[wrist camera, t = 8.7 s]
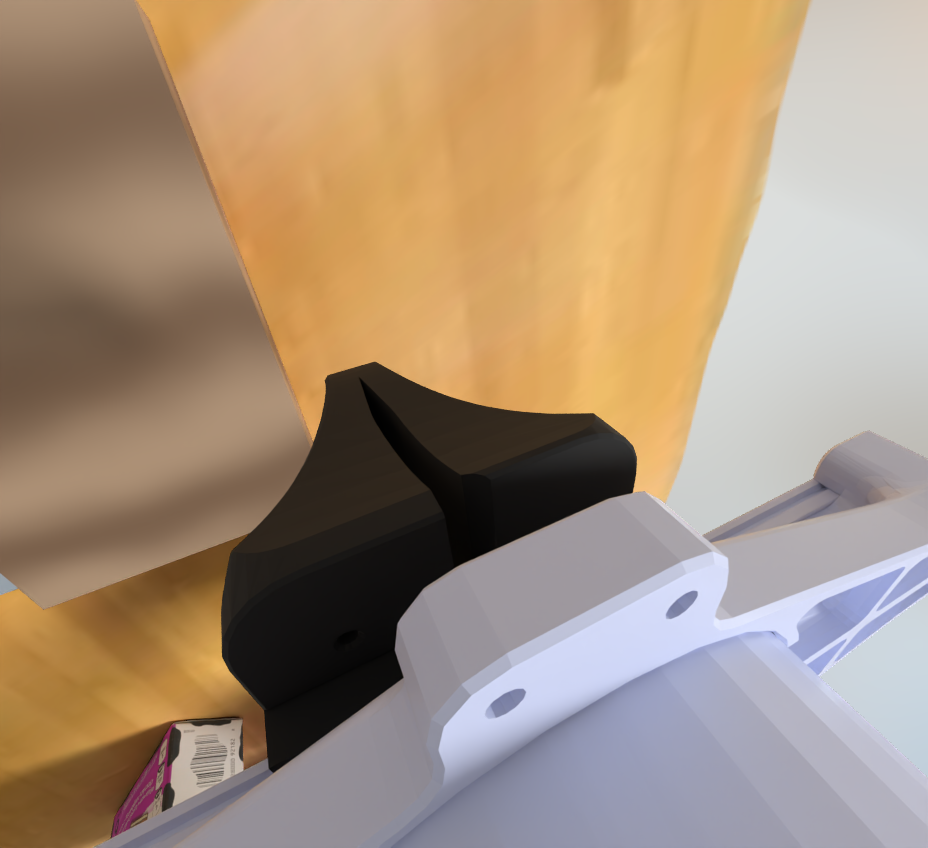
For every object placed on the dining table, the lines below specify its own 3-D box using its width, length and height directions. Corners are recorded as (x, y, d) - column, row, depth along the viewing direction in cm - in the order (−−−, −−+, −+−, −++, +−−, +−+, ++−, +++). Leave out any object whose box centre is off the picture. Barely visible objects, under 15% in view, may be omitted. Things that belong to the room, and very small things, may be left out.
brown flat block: (320, 461, 24) (332, 502, 22) (66, 548, 21) (43, 609, 18) (149, 18, 14) (131, -7, 11) (-424, 53, 10) (-647, 30, 8)
